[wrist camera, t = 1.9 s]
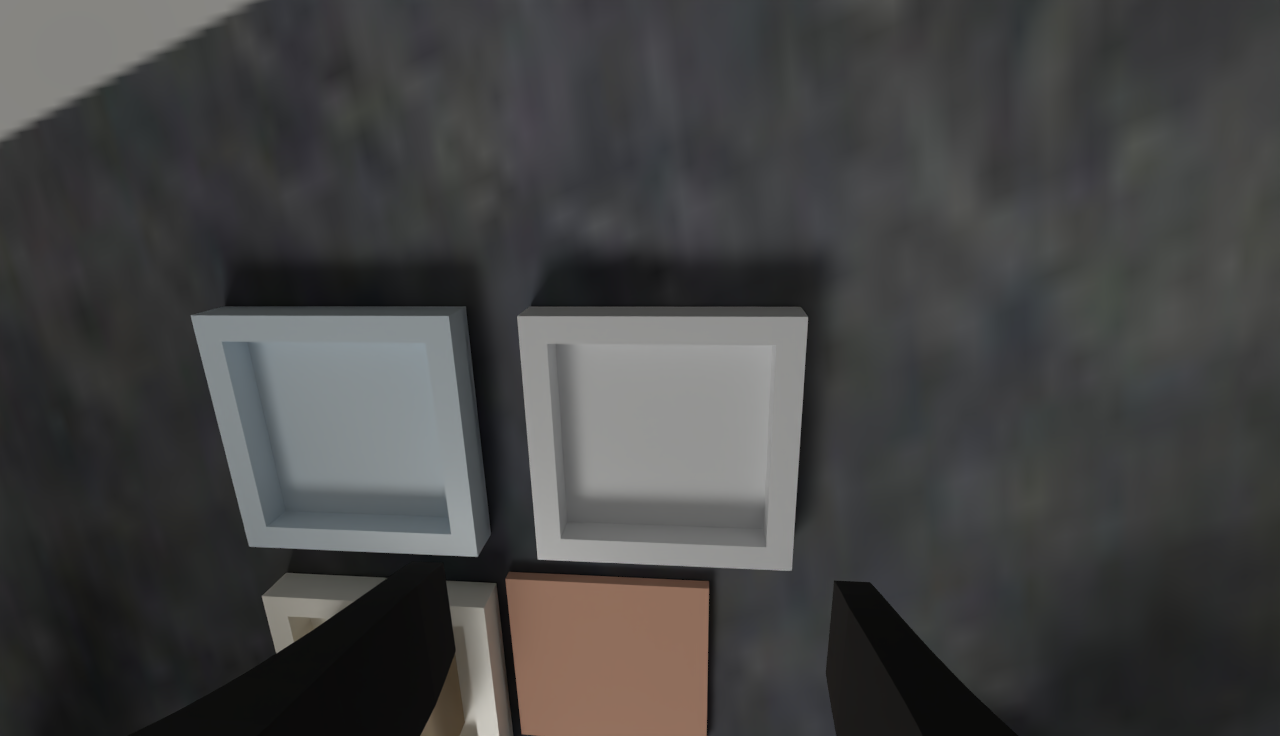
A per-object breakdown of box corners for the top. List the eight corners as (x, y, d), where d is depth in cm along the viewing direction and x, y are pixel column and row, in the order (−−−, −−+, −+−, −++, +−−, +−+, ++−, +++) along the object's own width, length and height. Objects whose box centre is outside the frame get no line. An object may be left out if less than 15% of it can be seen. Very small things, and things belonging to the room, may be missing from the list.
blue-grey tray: (465, 306, 18) (448, 315, 17) (490, 534, 21) (477, 556, 20) (223, 306, 19) (190, 315, 18) (274, 525, 22) (249, 546, 20)
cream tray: (496, 583, 22) (483, 607, 20) (515, 753, 24) (504, 785, 23) (285, 572, 22) (261, 596, 21) (325, 738, 25) (304, 768, 24)
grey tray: (800, 306, 17) (808, 316, 16) (786, 546, 20) (791, 570, 19) (529, 306, 18) (517, 316, 17) (547, 536, 21) (537, 559, 19)
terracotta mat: (709, 581, 21) (709, 588, 20) (706, 738, 23) (706, 748, 22) (509, 571, 21) (505, 579, 21) (524, 725, 23) (521, 734, 23)
